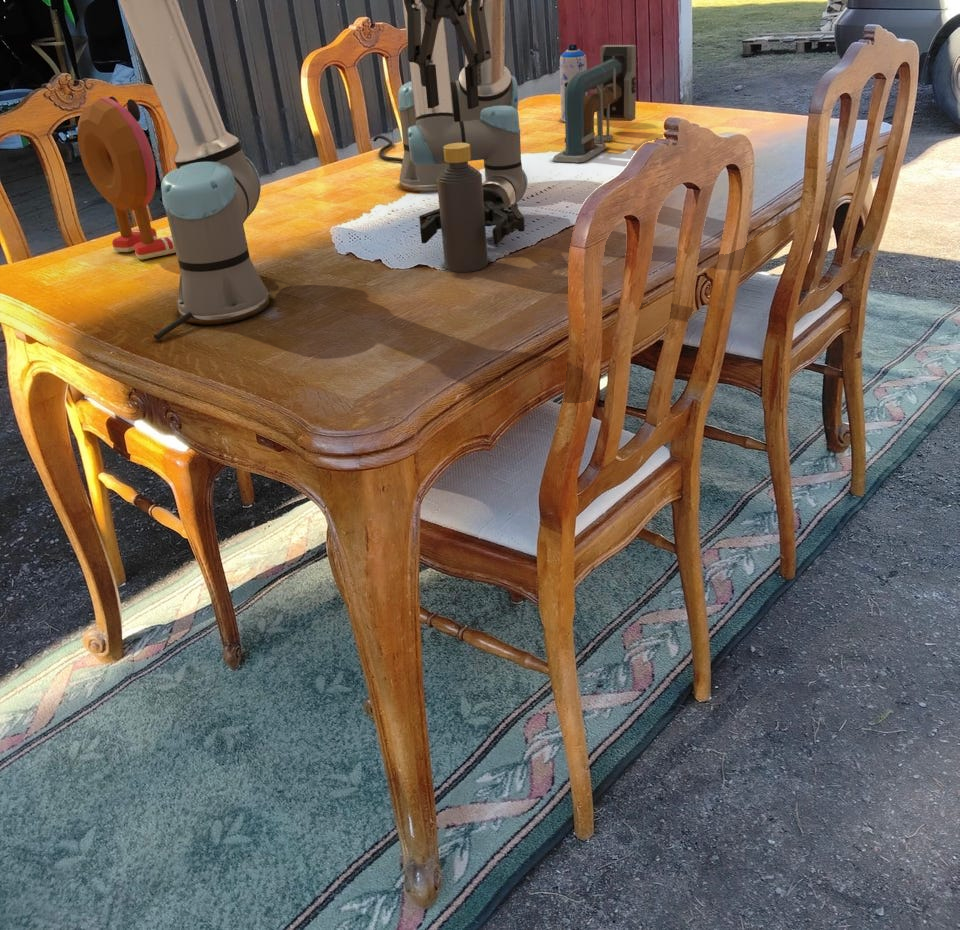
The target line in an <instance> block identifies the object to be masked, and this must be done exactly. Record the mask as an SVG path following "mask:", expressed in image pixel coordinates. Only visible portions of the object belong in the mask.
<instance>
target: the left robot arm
mask: <svg viewBox="0 0 960 930" xmlns="http://www.w3.org/2000/svg"><path fill="white" fill-rule="evenodd" d="M466 1H467V0H404V4H405V7H406V11H407V31H408V46H407V61H408V63H409V62H414V63H416V64H418V65H419V67H420V76H421V84H422V86H426V94H427V105H428V108H434V107H436V106H438V105H439V98H438V87H437V76H436V65H435V64H431V65H430V63H432V62H433V61H431V58H432V54H433V49H434V44H435V39H436V34H437V29H438V25H439V23H440V21H441V18H444V19H447V20H448V19H449V20H450V22H451V24H452V25H453V26H454V29H455V31H456V34H457V36H458V39H459V42H460V44H461V47H462V50H463V52H464V56H465V55H466V58H467V60H468V63H469V64H467V66H466V67H465V66H464V67H465V79H466V92H467V105H468V109H473V108H475V107H477V106H479V100H478V86H480V85H481V83H482V77H481V64H482V62H484V61H486V60H488V59H490V58H491V50H490V44H489V38H488V31H487V25H486V19H485V12H484V5H485V0H468V2H469V6H470V7H471V17H472V23H473V29H474V35H475V40H474V38H473V35H472V32H471V30H470V27H469V24H468V22H467V15H466V12H465V10H464V5H465V3H466ZM118 2H119V4H120V7H121V10H122V12H123V15H124V17H125V20H126V22H127V24H128V27H129V30H130V32H131V34H132V37H133V40H134V42H135V45H136V47H137V50H138V52H139V54H140V56H141V60H142V61H143V64H144V67H145V69H146V71H147V74H148V76H149V79H150V82H151V84H152V86H153V89H154V91H155V94H156V96H157V98H158V101H159V103H160V106H161V109H162V111H163V113H164V116H165V118H166V121H167V123H168V126H169V129H170V131H171V134H172V135H173V138H174V141H175V143H176V146H177V147H176V152H175V154H174V156H173V162H174V165H175V167H176V168H173V169H172V170H170V171H169V172H168V173H166V175H165V176H164V177H163V178H162V180H161V183H160V190H161V199H162V206H163V208H164V210H165V214H166V218H167V221H168V226H169V230H170V234H171V236H172V238H173V242H174V247H175V251H176V253H175V254H176V258H177V262H178V266H179V283H178V294H177V310H178V314H179V318H177V319H176V320H174V321H173V322H172V323H170V324H168V325H167V326H165V327H164V328H162V329H161V330H160V331H158V332H156V333H155V334H153V337H154V339H155V340H156V341H159V340H160V339H162V338H164V336H166V335H168V334H169V333H170V332H172V331H173V330H174V329H176V328H178V327H180V326H181V325H182V324H183V323H185V322H186V323H189V324H193V325H202V326H203V325H204V326H205V325H206V326H210V325H222V324H230V323H233V322H239V321H241V320H245V319H248V318H251V317H253V316H256V315H258V314H260V312H263V311H264V310H265V309H266V308H267V307H268V306H269V305H270V296H269V291H268V289H267V287H266V284H265V283H264V282H263V280H262V278H261V276H260V274H259V272H258V270H257V269H256V267H255V265H254V264H253V262H252V260H251V257H250V251H249V246H248V241H247V236H246V232H245V227H244V224H245V222H246V221H247V220H248V218H249V217H250V216H251V215H252V214H253V213H254V211H255V210H256V208H257V206H258V204H259V200H260V196H261V191H262V190H261V188H262V184H261V178H260V175H259V174H260V173H259V171H258V170H257V167H256V166H255V164H254V163H253V162H252V160H251V159H249V158H248V156H245V155H246V154H245V152H244V151H243V148H242V145H241V142H240V140H239V137H237V136H235V135H233V134H231V133H230V132H228V131H227V129H226V127H225V125H224V122H223V120H222V116H221V114H220V111H219V109H218V106H217V103H216V101H215V98H214V95H213V93H212V90H211V87H210V85H209V82H208V79H207V77H206V73H205V71H204V68H203V66H202V64H201V61H200V58H199V55H198V53H197V50H196V47H195V45H194V43H193V39H192V37H191V34H190V32H189V28H188V27H187V24H186V20H185V19H184V16H183V12H182V11H181V8H180V4H179V3H178V0H118ZM421 2H422V3H423V5H424V6H425V8H426V9H427V11H426V16H425V28H424V33H423V38H422V43H421V11H420V8H421V5H422V4H421ZM475 42H476V43H475Z"/></svg>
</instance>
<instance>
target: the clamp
mask: <svg viewBox="0 0 960 930" xmlns="http://www.w3.org/2000/svg"><path fill="white" fill-rule="evenodd" d="M636 70H637V45H636V44H604V45H601V46H600V63H599V64H597V65H595V66H592V67H590V68H587V70H586V71H583V72H581V73H579V74H577V75H575V76H574V77H573V78H572V79H571V80H570V82H569V83H568V84H567V86H566V90H565V122H564V126H565V127H564V129H565V138H564V143H565V149H564V150H561V151H560V152H559V153H557V154H555V155H554V156H553V158H552V161H553V162H559V163H562V162H563V163H578V164H579V163H585V162H587V161H589V160H590V159H591V158H593V157H595V156H596V155H598V154H599V153H602V152H603V151H605V150H607V149H608V147H607V145H606V143H605V142H611V141H612V140H614V136H613V135H612V134H610V122H613V121H614V122H633V121H635V120H636V103H637V102H636V98H637V97H636V92H637V91H636V89H637V87H636V84H637V82H636V81H637V71H636ZM591 90H595V91H592V92H590V93H589V94H587V96H585V92H587V93H588V92H589V91H591ZM595 113H596V130H597V132H596V133H597V134H596V133H595ZM604 121H606V134H604Z"/></svg>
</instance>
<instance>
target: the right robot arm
mask: <svg viewBox="0 0 960 930" xmlns="http://www.w3.org/2000/svg"><path fill="white" fill-rule="evenodd" d="M421 4H422V5H421V8H420V11H421V43H422V38H423V33H424V28H425V16H426V11H427V9H426V8H425V6H424V5H423V3H422V2H421ZM402 9H403V10H402V11H403V19H404V26H405V37H406V45H407V47H408V31H407V11H406V7H405V4H404V0H402ZM464 10H465V12H466V15H467V22H468V24H469V27H470V30H471V32H472V35H473V38H474V40H475V35H474V29H473V23H472V17H471V7H470V6H469V2H468V0H467V1H466V3H465V5H464ZM484 12H485V19H486V25H487V31H488V38H489V44H490V50H491V58H490V59H488V60H486V61H484V62H482V64H481V77H482V83H481V85H480V86H478V100H479V106H477V107H475V108H473V109H468V105H467V92H466V79H465V67H466V66H467V64H469V63H468V60H467V58H466V55H465V54H464V62H465V64H464V65H465V66H464V67H463V68H462V69H461V71H459V75H458V80H453V81H452V80H451V77H450V75H451V74H450V66H449V65H450V64H449V56H448V46H447V37H446V28H445V27H446V25H445V18H441V21H440V23H439V25H438V29H437V34H436V39H435V44H434V49H433V54H432V58H431V61H433V62H432V63H430V65H431V64H435V65H436V76H437V87H438V98H439V105H438V106H436V107H434V108H428V105H427V94H426V86H422V84H421V76H420V67H419V65H418V64H416V63H414V62H409V61H408V63H409V71H410V80H411V81H408V82H406V83H404V84H402V86H400V87H399V89H398V93H397V94H398V95H397V97H398V107H397V108H398V111H399V115H400V125H401V135H402V145H403V158H402V157H394V156H387V155H383V153H384V151H386V150H387V149H389V148H391V147H392V146H393V144H394V143H393V141H392V139H390V138H388V137H386V136H385V135H381V134H378V135H375V136H374V137H373V140H372V141H373V142H377V141H378V140H379V139H380V140H384V141H385V142H386V143H388V144H386V145H384V146H382V147H381V148H380V150H379V152H378V156H379V158H380V159H382V160H385V161H389V162H390V161H391V162H400V163H401V168H400V173H399V180H398V181H399V187H400V189H402V190H405V191H407V192H413V193H430V192H431V193H432V192H438V188H437V177H438V175H439V174H440V173H441V172H442V171H443V170H444V169H445V168H446V167H447V166H448V162H445V161H444V151H443V147H444V146H445V145H447V144H452V143H468V144H470V149H471V159H470V160H469V161H468V162H472V161H473V162H474V161H483V168H484V178H485V180H484V181H482V186H483V200H484V213H485V227H493V228H492V229H491V230H492V231H491V232H492V243H493V244H492V245H494V246H498V245H499V244H500V243H501V242H502V240H503V239H504V238H505V236H509V235H510V234H511V233H515V231H516V230H517V232H520V233H522V232H525V231H526V229H525V227H526V226H525V216H524V215H523V214H522V212H521V211H520V209H519V202H520V201H521V200H522V199H523V197H524V195H525V193H526V191H527V188H528V184H529V183H528V182H529V181H528V176H527V174H526V172H525V171H524V169H523V164H522V148H521V145H522V144H521V128H520V118H519V112H518V109H519V101H518V100H519V87H518V81H517V78H516V77H515V76H514V75H512V74H511V73H512V72H510V69H509V68H508V67H507V66H506V65H505V62H506V61H505V58H506V57H505V56H506V55H505V53H506V51H505V50H506V49H505V48H506V0H485V5H484ZM475 43H476V42H475ZM418 218H419V227H420V228H419V231H420V239H421V244H427V243H428V242H429V241H430V240H431V239H432V238H434V236H435V235H436V234H437V233H438V230H442V229H441V219H440V208H439V207H438V208H437V209H434V210H431V211H429V212H426V213H423V214H421V215H419V216H418Z"/></svg>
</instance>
